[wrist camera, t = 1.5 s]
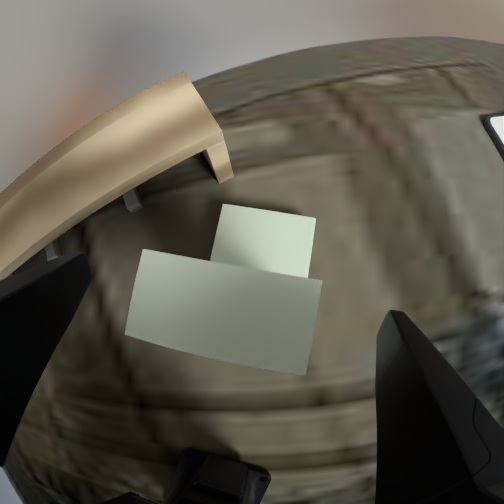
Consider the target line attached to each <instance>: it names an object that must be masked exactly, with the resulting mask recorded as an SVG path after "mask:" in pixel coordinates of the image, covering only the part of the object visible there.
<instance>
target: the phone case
mask: <svg viewBox="0 0 504 504" xmlns="http://www.w3.org/2000/svg"><path fill="white" fill-rule="evenodd" d="M483 124H484V127H485V129H486V131H487V132H488V134H489V136H490V137H491V139H492V141H493V142H494V144H495V146H496V147H497V149H498V151H499V153H500V154H501V156H502V158H503V160H504V114H500V115H492V116H487V117H486V118H485V120H484V121H483Z"/></svg>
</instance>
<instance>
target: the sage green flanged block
mask: <svg viewBox="0 0 504 504" xmlns="http://www.w3.org/2000/svg"><path fill="white" fill-rule="evenodd" d="M315 222H316V218H311V217H305V216H300V215H294V214H287V213H281V212H275V211H269V210H262V209H256V208H249V207H242V206H235V205H228V204H223V206H222V210H221V214H220V219H219V223H218V227H217V232H216V236H215V240H214V245H213V249H212V254H211V258H210V261H206V260H201V259H196V258H190V257H185V256H179V255H174V254H169V253H163V252H158V251H153V250H147V249H143V251H142V255H141V259H140V263H139V267H138V272H137V276H136V280H135V285H134V289H133V294H132V298H131V303H130V308H129V313H128V318H127V324H126V329H125V335H128V336H131V337H134V338H137V339H140V340H144V341H147V342H150V343H154V344H157V345H161V346H164V347H168V348H172V349H175V350H179V351H183V352H187V353H191V354H195V355H199V356H203V357H207V358H211V359H216V360H220V361H225V362H229V363H234V364H239V365H244V366H249V367H254V368H260V369H265V370H271V371H277V372H283V373H289V374H296V375H302V376H305V375H306V370H307V365H308V360H309V355H310V350H311V345H312V339H313V334H314V328H315V323H316V317H317V311H318V305H319V299H320V293H321V286H322V280H316V279H310V278H308V271H309V265H310V258H311V251H312V244H313V237H314V230H315Z"/></svg>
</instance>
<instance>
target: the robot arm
mask: <svg viewBox="0 0 504 504" xmlns="http://www.w3.org/2000/svg"><path fill="white" fill-rule="evenodd" d="M91 279H92V274H91V270H90V266H89V261H88V257H87V255H86V254H85V253H82V252H78V251H74V252H71V253H68V254H65V255H63V256H60V257H57V258H55V259H52V260H50V261H47V262H44V263H42V264H39V265H37V266H34V267H32V268H29V269H27V270H24V271H22V272H19V273H17V274H14V275H12V276H10V277H7V278H5V279H2V280H0V467H3V465H4V463H5V460H6V457H7V454H8V451H9V449H10V446H11V443H12V441H13V438H14V436H15V433H16V431H17V428H18V426H19V423H20V421H21V418H22V416H23V413H24V411H25V409H26V407H27V404H28V402H29V400H30V398H31V396H32V394H33V391H34V389H35V387H36V385H37V383H38V381H39V379H40V377H41V375H42V373H43V371H44V369H45V367H46V365H47V363H48V362H49V360H50V358H51V356H52V354H53V352H54V350H55V349H56V347H57V345H58V343H59V341H60V340H61V338H62V336H63V334H64V333H65V331H66V329H67V327H68V326H69V324H70V322H71V320H72V319H73V317H74V315H75V313H76V310H77V308H78V306H79V304H80V302H81V300H82V298H83V296H84V294H85V292H86V290H87V288H88V286H89V284H90V282H91ZM375 392H376V415H377V475H376V495H375V504H504V430H503V428H502V427H501V426H500V425H499V424H498V423H497V421H496V420H495V419H494V418H493V417H492V415H491V414H490V413H489V412H488V410H487V409H486V408H485V407H484V405H483V404H482V403H481V401H480V400H479V399H478V398H476V395H475V394H474V393H473V391H472V390H471V389H470V388H469V386H468V385H467V384H466V383H465V382H464V380H463V379H462V378H461V377H460V375H459V374H458V373H457V372H456V371H455V369H454V368H453V367H452V366H451V365H450V364H449V362H448V361H447V360H446V359H445V358H444V357H443V355H442V354H441V353H440V352H439V351H438V350H437V348H436V347H435V346H434V345H433V344H432V343H431V342H430V340H429V339H428V338H427V337H426V336H425V335H424V334H423V333H422V332H421V330H420V329H419V328H418V327H417V326H416V325H415V324H414V323H413V322H412V321H411V319H410V318H409V317H408V316H407V315H406V314H405V313H404V312H402V311H396V310H390V311H388V313H387V314H386V316H385V318H384V321H383V323H382V325H381V327H380V329H379V331H378V334H377V352H376V380H375ZM186 452H188V453H190V454H191V456H188V455H187V454H186ZM261 477H266V478H267V479H265V480H263V479H261ZM270 481H271V475H270V474H269V473H268V472H265V471H261V470H257V469H253V468H250V467H247V466H246V465H245V464H242V463H239V462H235V461H232V460H229V459H226V458H223V457H220V456H217V455H214V454H211V455H209V454H206V453H203V452H200V451H198V450H195V449H192V448H189V447H187V448H184V449H183V450H182V452H181V454H180V458H179V461H178V464H177V467H176V470H175V473H174V476H173V480H172V483H171V486H170V489H169V492H168V495H167V496H166V498H165V499H164V501H163V502H162V504H260V502H261V500H262V498H263V496H264V494H265V492H266V490H267V487H268V485H269V483H270ZM100 504H158V503H155V502H153V501H150V500H147V499H145V498H142V497H140V496H139V495H138V494H136V493H134V492H131V491H130V492H127V493H125V494H123V495H120V496H118V497H115V498H113V499H110V500H108V501H105V502H103V503H100Z"/></svg>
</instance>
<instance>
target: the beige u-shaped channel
mask: <svg viewBox="0 0 504 504" xmlns="http://www.w3.org/2000/svg"><path fill="white" fill-rule="evenodd" d="M201 151H202V152H203V154H204V156H205V158H206V160H207V161H208V163H209V165H210V167H211V169H212V171H213V172H214V174H215V176H216V178H217V180H218V182H219V184H220V183H222V182H224V181H226V180H228V179H230V178H232V177H234V174H233V171H232V167H231V163H230V159H229V156H228V152H227V148H226V144H225V141H224V137H223V133H222V130H221V129H220V127H219V125H218V124H217V122H216V121H215V119H214V117H213V116H212V114H211V113H210V111H209V110H208V108H207V106H206V105H205V103H204V102H203V100H202V99H201V97H200V95H199V94H198V92H197V91H196V89H195V88H194V86H193V85H192V83H191V82H190V80H189V79H188V77H187V76H186V74H185V73H184V72H181V73H179V74H177V75H175V76H173V77H171V78H168V79H166V80H164V81H162V82H160V83H159V84H156V85H154V86H152V87H150V88H148V89H147V90H145V91H143V92H141V93H139V94H137V95H135V96H133V97H132V98H130V99H128V100H126V101H124V102H123V103H121V104H119V105H117V106H116V107H114V108H112V109H111V110H109V111H107V112H106V113H104V114H103V115H101V116H99V117H98V118H96V119H95V120H93V121H92V122H90V123H89V124H87V125H86V126H84V127H83V128H81V129H80V130H78V131H77V132H75V133H74V134H72V135H71V136H70V137H68V138H67V139H65V140H64V141H63V142H61V143H60V144H59V145H57V146H56V147H55V148H53V149H52V150H51V151H49V152H48V153H47V154H46V155H45V156H43V157H42V158H41V159H39V160H38V161H37V162H36V163H35V164H33V165H32V166H31V167H30V168H29V169H27V170H26V171H25V172H24V173H23V174H22V175H20V176H19V177H18V178H17V179H16V180H15V181H14V182H13V183H11V184H10V185H9V186H8V187H7V188H6V189H5V190H4V191H3V192H2V193H1V194H0V280H2V279H5V278H7V277H10V276H12V275H13V273H12V272H13V271H14V270H16V269H17V268H18V267H19V266H21V265H22V264H23V263H24V262H26V261H27V260H28V259H29V258H31V257H32V256H33V255H35V254H36V253H37V252H38V251H40V250H41V249H42V248H44V247H45V252H46V257H47V261H50V260H52V259H55V258H57V257H60V256H62V255H61V251H60V247H59V242H58V237H59V236H60V235H62V234H63V233H64V232H66V231H67V230H69V229H70V228H72V227H73V226H75V225H76V224H77V223H79V222H80V221H82V220H83V219H85V218H86V217H88V216H89V215H91V214H92V213H94V212H96V211H97V210H99V209H100V208H102V207H103V206H105V205H106V204H108V203H110V202H111V201H113V200H114V199H116V198H118V197H119V196H121V195H123V198H124V201H125V204H126V207H127V209H128V210H129V211H130V212H131V213H134V212H136V211H138V210H139V209H141V208H143V205H142V202H141V200H140V197H139V194H138V191H137V189H136V186H138V185H140V184H141V183H143V182H145V181H147V180H148V179H150V178H152V177H154V176H155V175H157V174H159V173H161V172H163V171H164V170H166V169H168V168H170V167H172V166H174V165H176V164H178V163H179V162H181V161H183V160H185V159H187V158H189V157H191V156H193V155H195V154H197V153H199V152H201Z"/></svg>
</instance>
